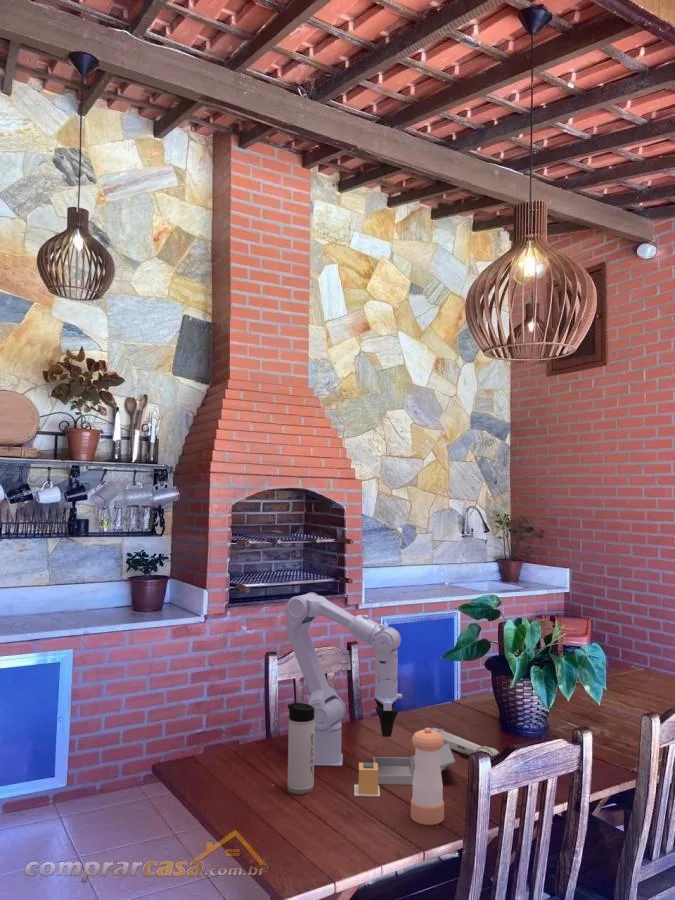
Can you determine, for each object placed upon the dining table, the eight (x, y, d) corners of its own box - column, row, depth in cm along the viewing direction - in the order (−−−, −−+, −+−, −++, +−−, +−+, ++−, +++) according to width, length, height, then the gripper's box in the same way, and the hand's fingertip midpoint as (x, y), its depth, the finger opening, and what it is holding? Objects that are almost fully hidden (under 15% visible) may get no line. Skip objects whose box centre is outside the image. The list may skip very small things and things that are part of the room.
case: (374, 787, 169) (375, 760, 169) (373, 766, 182) (373, 741, 182) (455, 788, 168) (456, 762, 169) (448, 768, 181) (448, 743, 182)
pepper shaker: (403, 816, 153) (404, 727, 155) (424, 806, 159) (425, 720, 160) (430, 828, 148) (430, 736, 149) (450, 817, 153) (451, 728, 155)
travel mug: (282, 786, 169) (284, 701, 170) (308, 782, 171) (310, 699, 172) (290, 796, 163) (291, 709, 164) (317, 792, 165) (318, 706, 166)
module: (358, 793, 163) (359, 768, 164) (358, 785, 168) (359, 760, 168) (377, 794, 163) (378, 768, 164) (377, 786, 168) (377, 761, 168)
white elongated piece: (436, 742, 202) (506, 767, 182) (420, 747, 198) (490, 773, 178) (436, 723, 202) (506, 746, 183) (420, 728, 198) (489, 752, 178)
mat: (354, 797, 163) (354, 795, 163) (354, 787, 169) (354, 784, 169) (380, 798, 163) (380, 795, 163) (379, 787, 169) (379, 785, 169)
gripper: (404, 684, 172) (403, 741, 171) (400, 670, 186) (399, 722, 185) (375, 684, 172) (374, 740, 171) (373, 669, 186) (373, 721, 185)
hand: (385, 731), depth 178 cm, fingers open, 7 cm apart
